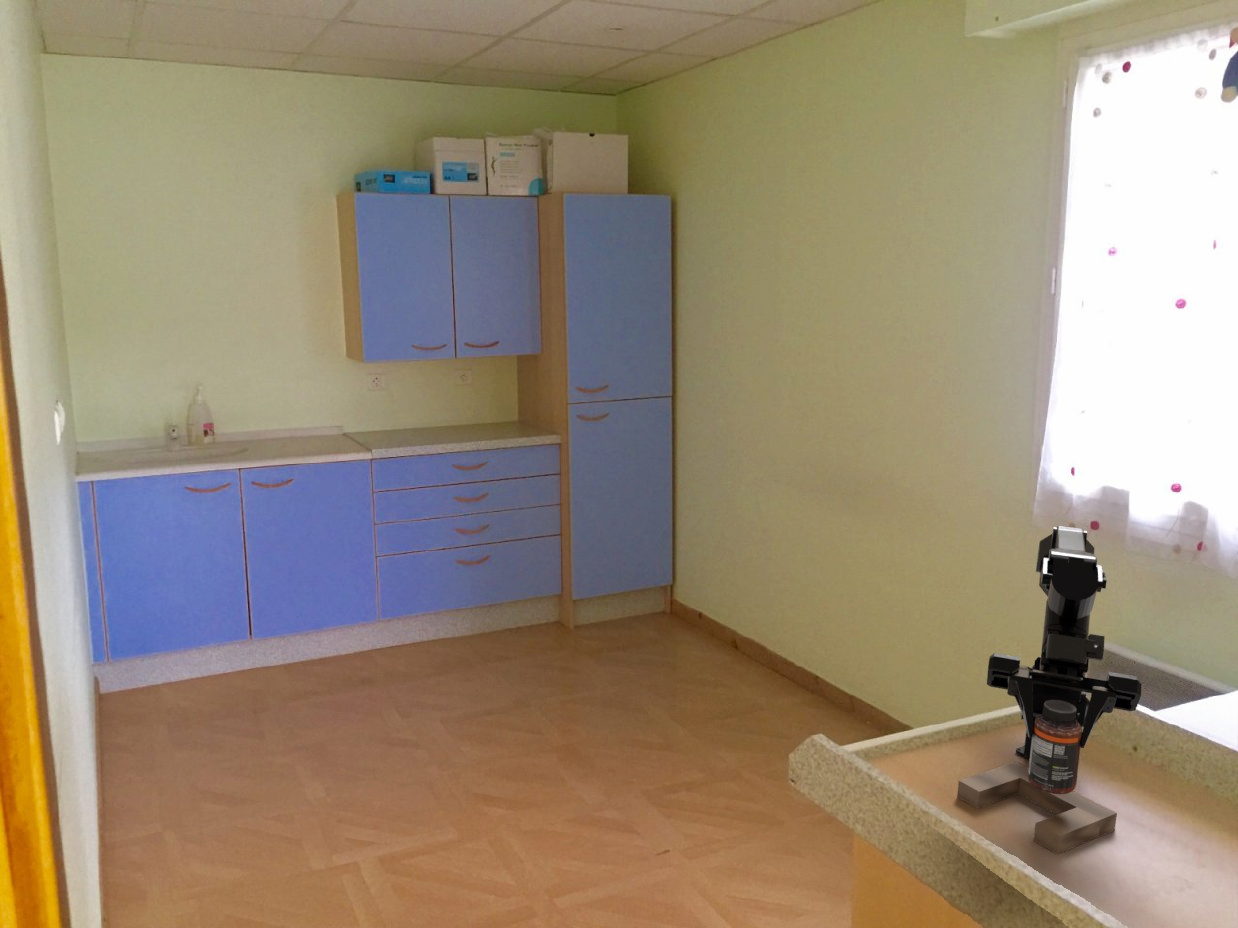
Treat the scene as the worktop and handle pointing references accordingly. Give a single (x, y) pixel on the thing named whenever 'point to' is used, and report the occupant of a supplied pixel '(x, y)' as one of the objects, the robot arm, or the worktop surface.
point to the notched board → (1056, 833)
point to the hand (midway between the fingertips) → (1056, 741)
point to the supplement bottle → (1055, 748)
